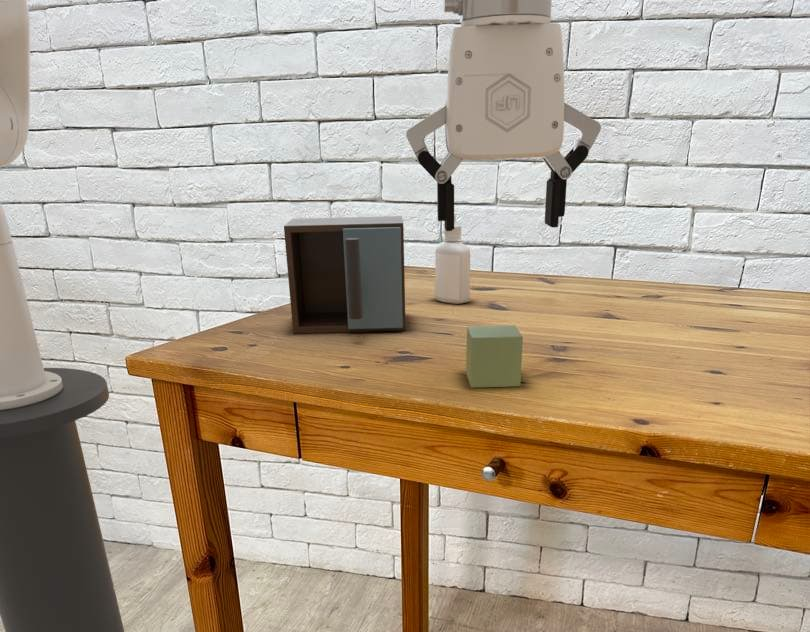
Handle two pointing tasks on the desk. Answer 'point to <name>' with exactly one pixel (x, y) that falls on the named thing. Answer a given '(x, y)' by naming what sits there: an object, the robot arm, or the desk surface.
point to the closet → (326, 271)
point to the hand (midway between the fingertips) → (500, 227)
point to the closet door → (373, 277)
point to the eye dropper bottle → (452, 268)
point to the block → (494, 356)
